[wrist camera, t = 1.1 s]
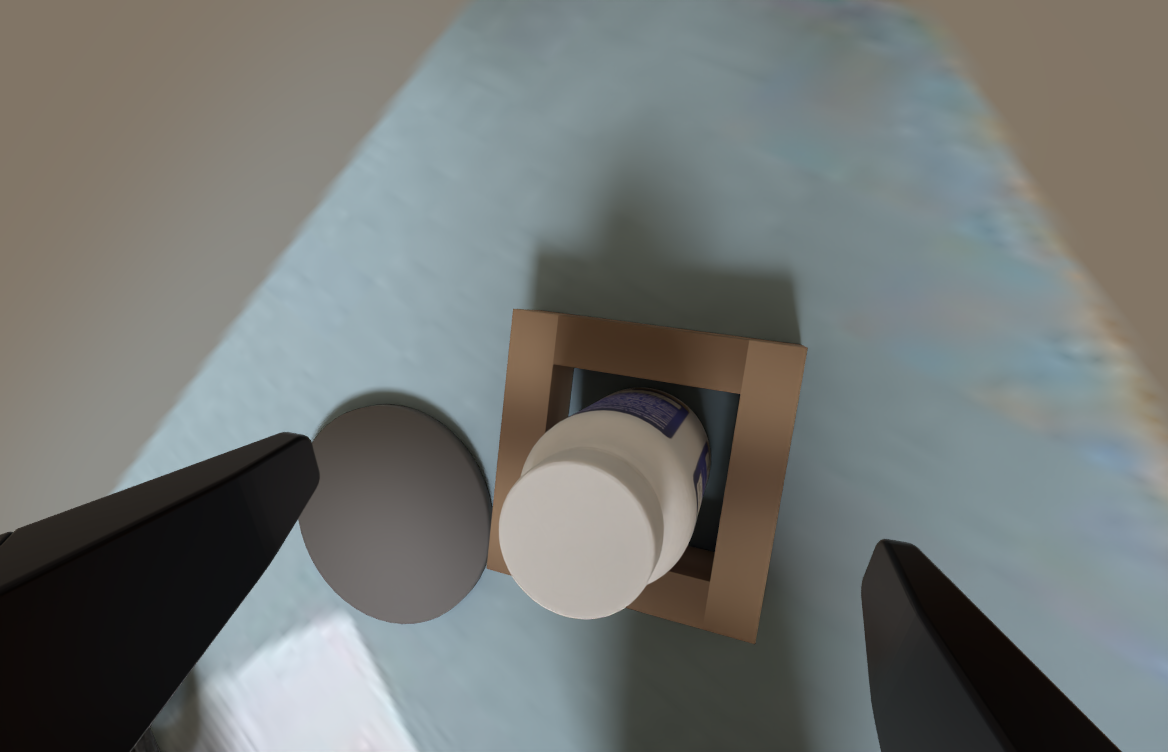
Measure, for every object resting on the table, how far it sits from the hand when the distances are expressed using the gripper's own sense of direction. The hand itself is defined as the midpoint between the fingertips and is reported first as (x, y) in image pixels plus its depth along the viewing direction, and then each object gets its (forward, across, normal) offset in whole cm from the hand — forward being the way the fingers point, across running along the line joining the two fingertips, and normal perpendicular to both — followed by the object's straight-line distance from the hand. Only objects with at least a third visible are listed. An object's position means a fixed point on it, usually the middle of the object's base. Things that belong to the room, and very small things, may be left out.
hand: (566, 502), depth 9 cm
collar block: (+11, 0, +7) cm, 13 cm away
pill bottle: (+11, 0, +7) cm, 13 cm away
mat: (+10, +11, +12) cm, 19 cm away
